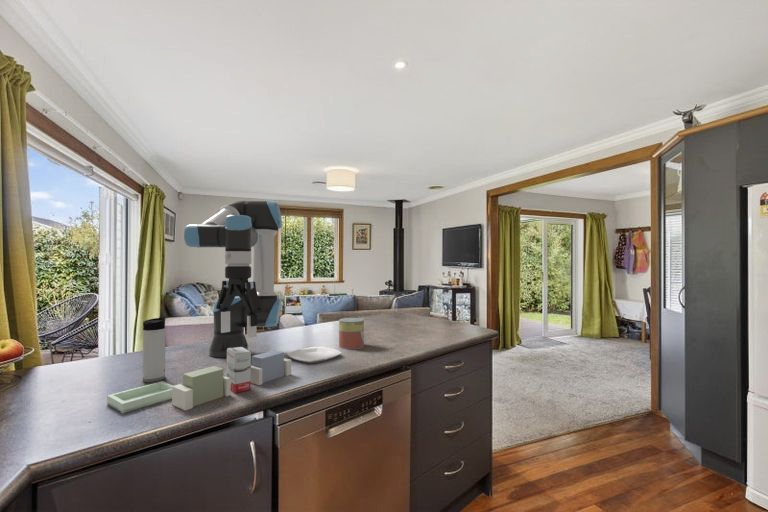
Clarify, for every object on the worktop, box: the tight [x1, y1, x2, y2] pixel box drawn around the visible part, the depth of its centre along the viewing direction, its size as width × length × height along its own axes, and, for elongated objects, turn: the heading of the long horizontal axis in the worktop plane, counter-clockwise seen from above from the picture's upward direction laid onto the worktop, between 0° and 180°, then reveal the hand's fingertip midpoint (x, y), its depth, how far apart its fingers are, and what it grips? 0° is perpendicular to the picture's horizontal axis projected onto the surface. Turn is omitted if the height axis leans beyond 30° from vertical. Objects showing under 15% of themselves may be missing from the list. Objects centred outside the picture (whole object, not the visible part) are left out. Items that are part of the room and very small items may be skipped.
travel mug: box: [142, 316, 166, 383], centre depth 121 cm, size 6×7×20 cm
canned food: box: [338, 317, 365, 350], centre depth 165 cm, size 11×11×12 cm
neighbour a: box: [182, 365, 224, 407], centre depth 104 cm, size 5×9×8 cm, turn 145°
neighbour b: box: [251, 349, 285, 384], centre depth 122 cm, size 5×9×8 cm, turn 145°
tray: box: [107, 380, 174, 414], centre depth 103 cm, size 10×14×2 cm
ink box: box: [226, 347, 252, 394], centre depth 113 cm, size 8×5×12 cm, turn 39°
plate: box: [286, 345, 343, 364], centre depth 147 cm, size 19×19×2 cm
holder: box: [171, 357, 292, 412], centre depth 113 cm, size 7×36×5 cm, turn 145°
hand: (238, 334), depth 112 cm, fingers open, 13 cm apart
